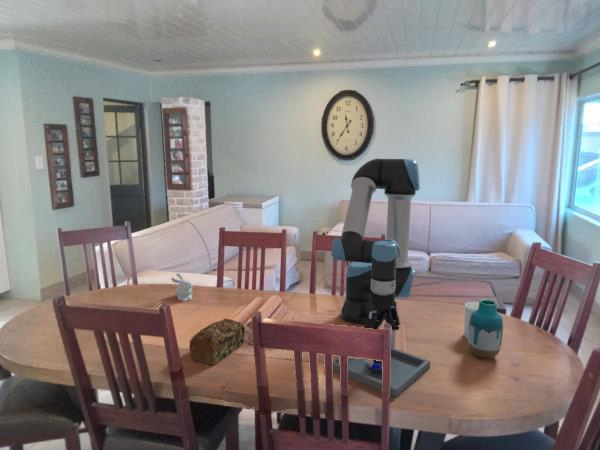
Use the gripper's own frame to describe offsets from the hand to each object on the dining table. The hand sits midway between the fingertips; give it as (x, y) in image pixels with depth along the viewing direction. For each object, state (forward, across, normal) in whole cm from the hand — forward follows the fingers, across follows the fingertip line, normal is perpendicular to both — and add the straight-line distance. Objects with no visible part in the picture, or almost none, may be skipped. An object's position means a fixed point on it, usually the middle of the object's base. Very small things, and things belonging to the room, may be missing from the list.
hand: (380, 355), depth 142 cm
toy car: (+3, 0, 0) cm, 3 cm away
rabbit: (+5, -4, +100) cm, 100 cm away
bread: (+5, -27, +48) cm, 55 cm away
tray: (+5, 0, 0) cm, 5 cm away
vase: (+5, +31, -22) cm, 38 cm away
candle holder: (+5, +44, -15) cm, 47 cm away
